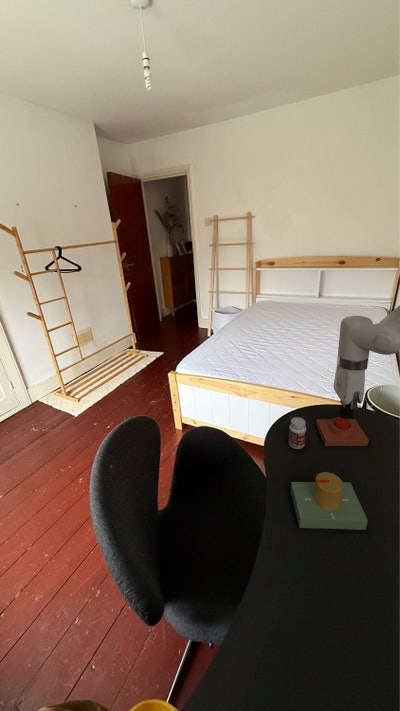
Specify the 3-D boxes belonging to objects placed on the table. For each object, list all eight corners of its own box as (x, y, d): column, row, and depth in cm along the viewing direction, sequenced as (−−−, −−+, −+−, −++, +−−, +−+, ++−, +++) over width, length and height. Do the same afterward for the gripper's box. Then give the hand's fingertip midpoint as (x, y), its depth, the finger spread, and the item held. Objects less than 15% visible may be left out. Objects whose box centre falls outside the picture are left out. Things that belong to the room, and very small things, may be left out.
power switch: (354, 424, 96) (356, 414, 94) (367, 446, 87) (369, 435, 85) (315, 424, 97) (316, 414, 95) (325, 446, 88) (326, 435, 86)
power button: (346, 421, 92) (346, 416, 91) (351, 429, 88) (351, 424, 88) (332, 421, 92) (333, 416, 92) (337, 429, 89) (337, 425, 88)
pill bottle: (299, 451, 87) (301, 428, 83) (285, 444, 90) (286, 421, 86) (308, 443, 89) (310, 421, 86) (294, 436, 93) (295, 414, 89)
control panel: (348, 491, 73) (350, 481, 72) (365, 529, 64) (368, 519, 63) (290, 490, 75) (291, 481, 74) (299, 528, 66) (300, 518, 64)
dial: (335, 489, 71) (338, 471, 68) (343, 510, 65) (347, 491, 63) (310, 489, 71) (312, 470, 69) (317, 510, 66) (319, 491, 64)
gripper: (329, 351, 88) (325, 403, 96) (347, 374, 75) (341, 433, 82) (355, 350, 87) (349, 402, 95) (379, 373, 74) (370, 432, 81)
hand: (345, 417), depth 88 cm, fingers closed
